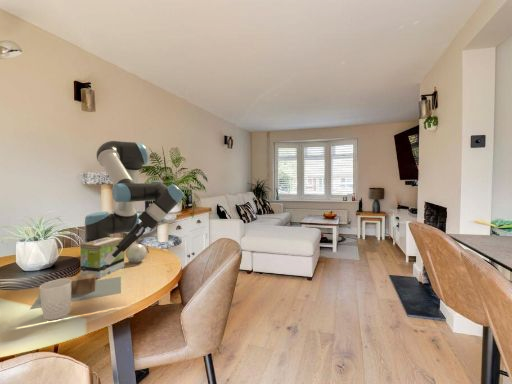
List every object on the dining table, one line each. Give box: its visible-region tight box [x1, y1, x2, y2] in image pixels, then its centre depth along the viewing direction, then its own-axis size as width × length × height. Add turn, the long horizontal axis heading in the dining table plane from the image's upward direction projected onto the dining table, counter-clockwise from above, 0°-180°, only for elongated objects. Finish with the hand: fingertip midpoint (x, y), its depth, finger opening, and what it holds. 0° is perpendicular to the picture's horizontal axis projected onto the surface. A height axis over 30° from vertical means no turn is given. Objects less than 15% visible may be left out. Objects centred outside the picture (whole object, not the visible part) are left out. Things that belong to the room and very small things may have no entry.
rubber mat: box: [29, 276, 122, 310], centre depth 99 cm, size 26×18×1 cm
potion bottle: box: [125, 243, 150, 263], centre depth 137 cm, size 9×10×15 cm
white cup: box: [38, 278, 72, 322], centre depth 82 cm, size 8×8×10 cm
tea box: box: [80, 236, 125, 280], centre depth 119 cm, size 15×10×15 cm, turn 168°
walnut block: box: [56, 273, 97, 295], centre depth 98 cm, size 5×5×12 cm
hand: (106, 262), depth 102 cm, fingers closed
